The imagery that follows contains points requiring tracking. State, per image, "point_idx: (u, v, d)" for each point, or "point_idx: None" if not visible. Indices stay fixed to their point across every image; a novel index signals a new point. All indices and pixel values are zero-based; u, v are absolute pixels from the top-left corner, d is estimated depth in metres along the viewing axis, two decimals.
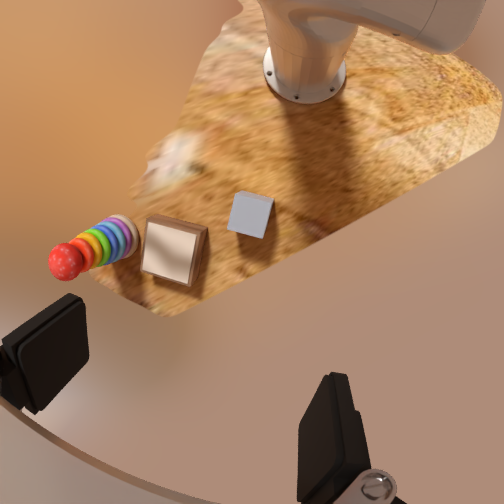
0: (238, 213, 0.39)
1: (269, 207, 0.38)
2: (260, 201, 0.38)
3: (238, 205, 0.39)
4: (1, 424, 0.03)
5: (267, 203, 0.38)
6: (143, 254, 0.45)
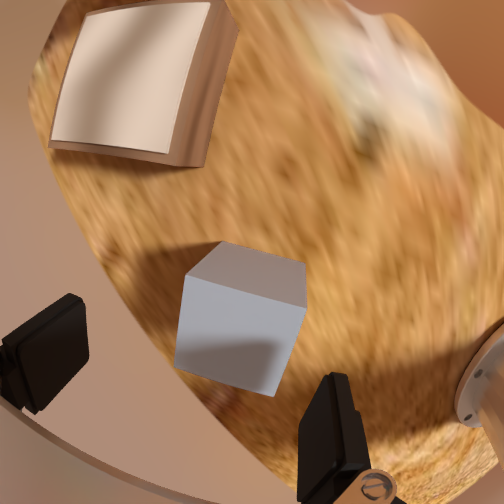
0: (239, 314, 0.12)
1: (261, 391, 0.13)
2: (279, 373, 0.12)
3: (267, 315, 0.11)
4: (1, 424, 0.03)
5: (272, 388, 0.12)
6: (121, 8, 0.10)
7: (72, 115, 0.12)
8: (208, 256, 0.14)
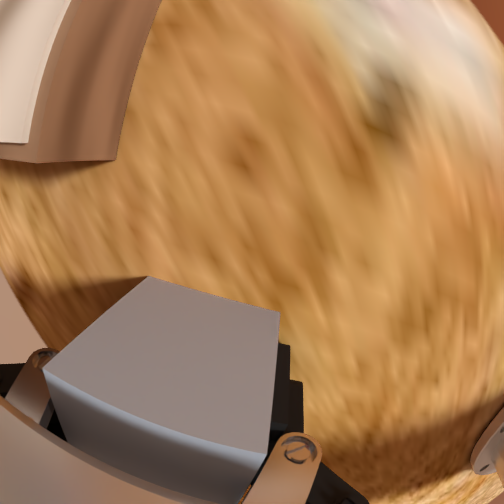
0: (140, 443, 0.05)
1: None
2: None
3: (189, 454, 0.05)
4: (1, 424, 0.03)
5: None
6: None
7: None
8: (105, 315, 0.07)
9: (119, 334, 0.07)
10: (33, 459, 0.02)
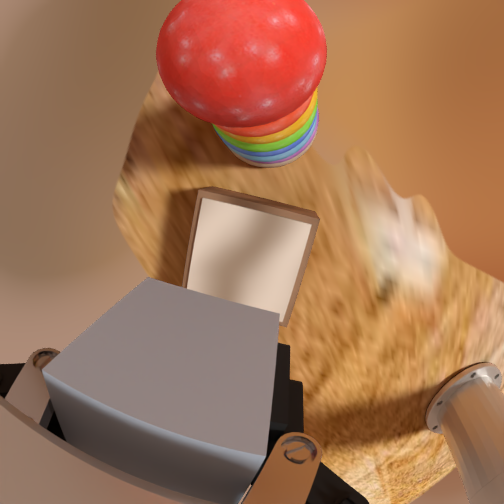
0: (140, 445, 0.05)
1: None
2: None
3: (188, 455, 0.05)
4: (1, 424, 0.03)
5: None
6: (237, 203, 0.21)
7: (206, 285, 0.23)
8: (105, 317, 0.07)
9: (118, 336, 0.07)
10: (33, 459, 0.03)
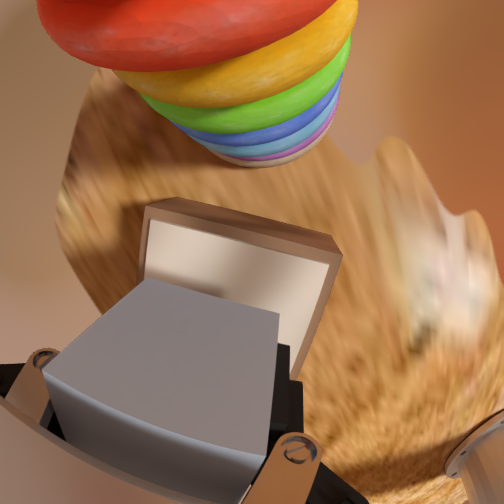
0: (140, 445, 0.05)
1: None
2: None
3: (188, 455, 0.05)
4: (1, 424, 0.03)
5: None
6: (205, 227, 0.12)
7: None
8: (105, 317, 0.07)
9: (118, 335, 0.07)
10: (33, 459, 0.03)
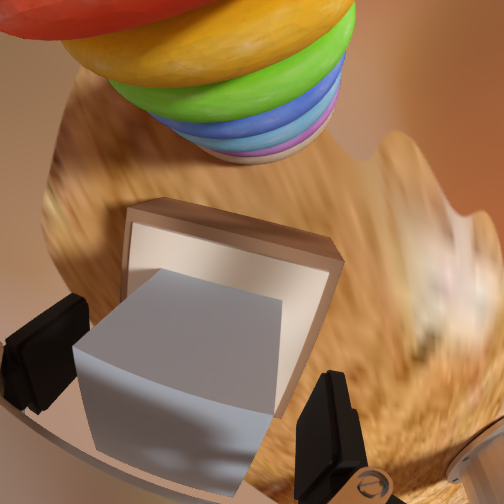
0: (161, 413, 0.06)
1: (215, 491, 0.07)
2: (236, 479, 0.07)
3: (205, 419, 0.06)
4: (1, 424, 0.03)
5: (230, 490, 0.07)
6: (192, 231, 0.11)
7: None
8: (126, 302, 0.08)
9: (140, 317, 0.08)
10: (33, 459, 0.02)
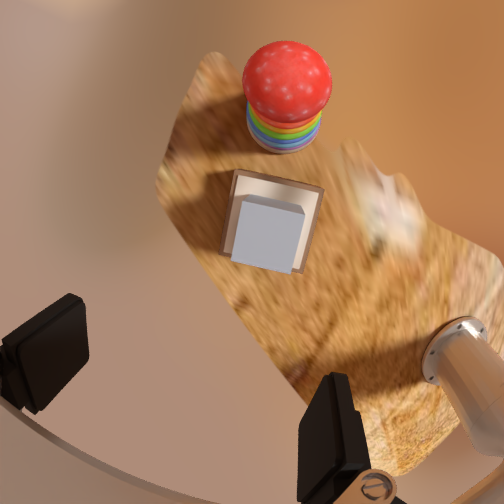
0: (271, 220, 0.23)
1: (283, 270, 0.24)
2: (292, 256, 0.23)
3: (285, 219, 0.23)
4: (1, 424, 0.03)
5: (289, 267, 0.24)
6: (264, 178, 0.28)
7: None
8: (248, 197, 0.25)
9: (256, 200, 0.25)
10: (33, 459, 0.03)
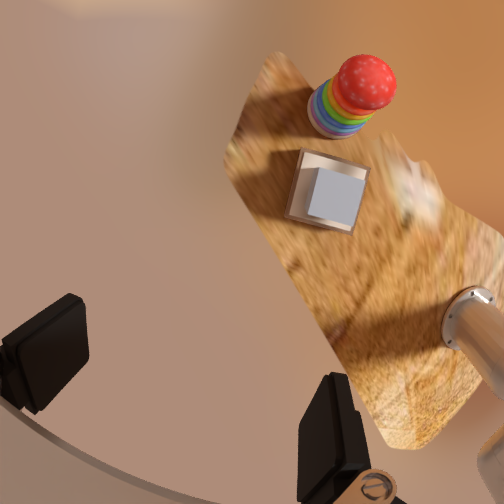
0: (340, 183, 0.28)
1: (347, 223, 0.29)
2: (355, 212, 0.29)
3: (351, 183, 0.28)
4: (1, 424, 0.03)
5: (352, 221, 0.29)
6: (325, 156, 0.33)
7: (304, 206, 0.35)
8: (317, 167, 0.31)
9: None
10: (33, 459, 0.03)
